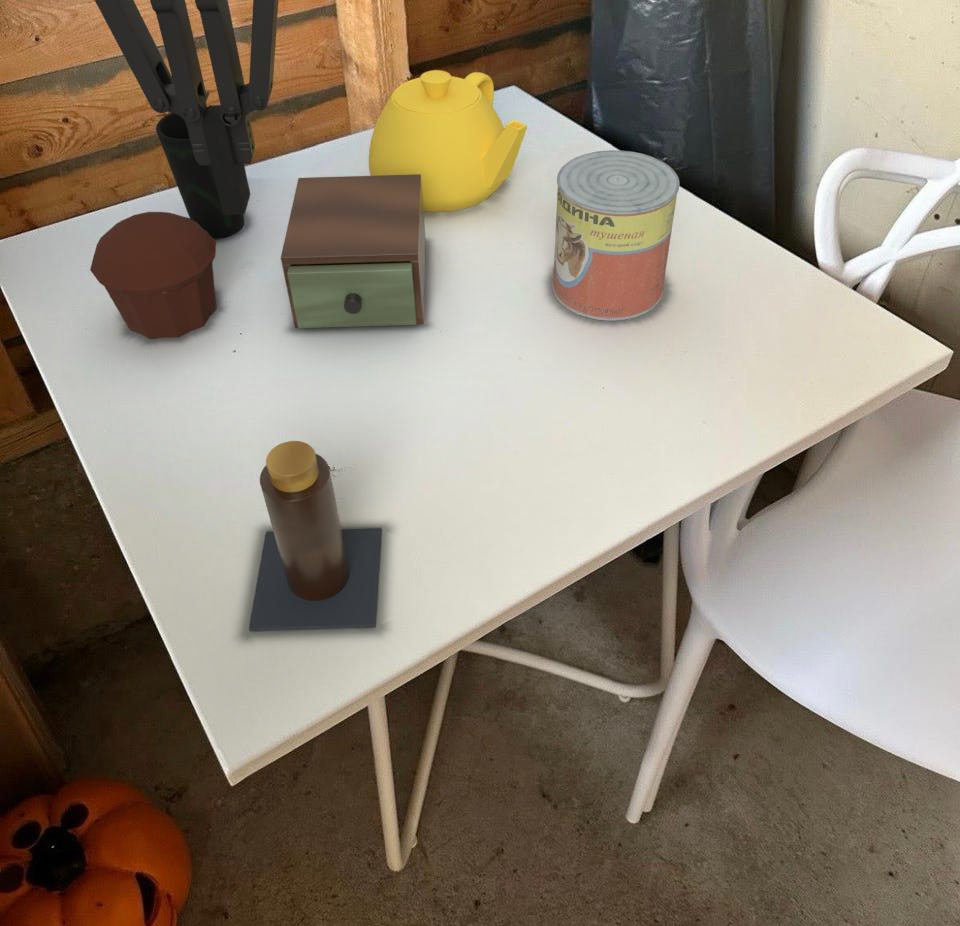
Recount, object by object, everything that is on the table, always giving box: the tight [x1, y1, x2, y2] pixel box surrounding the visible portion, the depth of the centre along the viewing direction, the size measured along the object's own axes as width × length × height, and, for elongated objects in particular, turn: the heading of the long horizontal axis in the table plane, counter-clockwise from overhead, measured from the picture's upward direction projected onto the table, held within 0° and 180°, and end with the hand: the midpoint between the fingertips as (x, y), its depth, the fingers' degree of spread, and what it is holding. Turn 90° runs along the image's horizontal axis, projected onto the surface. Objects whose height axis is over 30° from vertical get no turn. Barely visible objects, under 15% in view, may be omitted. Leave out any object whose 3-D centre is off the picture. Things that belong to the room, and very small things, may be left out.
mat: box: [248, 527, 383, 632], centre depth 69 cm, size 9×9×1 cm
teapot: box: [368, 69, 528, 213], centre depth 105 cm, size 20×19×13 cm
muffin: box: [89, 211, 217, 340], centre depth 89 cm, size 12×11×10 cm
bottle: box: [259, 440, 349, 601], centre depth 65 cm, size 5×5×13 cm
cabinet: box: [280, 174, 427, 329], centre depth 93 cm, size 15×13×8 cm
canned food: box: [551, 150, 681, 322], centre depth 90 cm, size 11×11×12 cm
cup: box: [155, 106, 245, 240], centre depth 100 cm, size 8×8×12 cm
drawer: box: [287, 261, 417, 329], centre depth 91 cm, size 15×11×6 cm
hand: (236, 204), depth 65 cm, fingers closed
